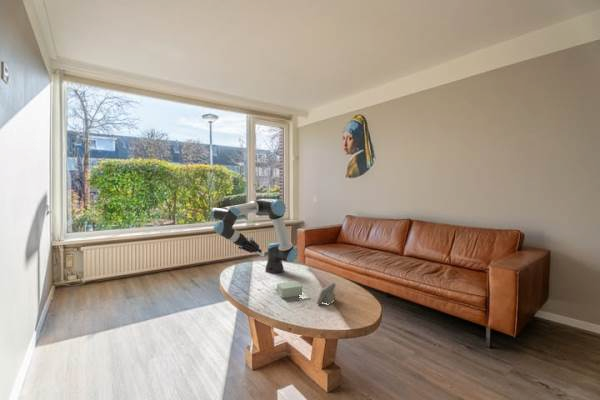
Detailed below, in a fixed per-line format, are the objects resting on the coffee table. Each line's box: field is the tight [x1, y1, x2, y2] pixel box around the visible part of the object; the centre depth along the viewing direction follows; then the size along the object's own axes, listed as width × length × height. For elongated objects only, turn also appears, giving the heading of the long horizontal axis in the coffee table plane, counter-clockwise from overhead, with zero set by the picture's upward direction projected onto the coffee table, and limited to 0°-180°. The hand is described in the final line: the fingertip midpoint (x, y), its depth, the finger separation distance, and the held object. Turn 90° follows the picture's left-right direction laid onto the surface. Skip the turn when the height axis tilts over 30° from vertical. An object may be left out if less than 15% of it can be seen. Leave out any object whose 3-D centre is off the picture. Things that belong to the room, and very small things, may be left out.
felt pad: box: [274, 288, 304, 303], centre depth 189 cm, size 16×22×1 cm
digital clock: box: [316, 282, 336, 305], centre depth 177 cm, size 16×9×11 cm, turn 136°
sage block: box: [276, 280, 303, 299], centre depth 188 cm, size 6×10×14 cm
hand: (263, 254), depth 192 cm, fingers closed
